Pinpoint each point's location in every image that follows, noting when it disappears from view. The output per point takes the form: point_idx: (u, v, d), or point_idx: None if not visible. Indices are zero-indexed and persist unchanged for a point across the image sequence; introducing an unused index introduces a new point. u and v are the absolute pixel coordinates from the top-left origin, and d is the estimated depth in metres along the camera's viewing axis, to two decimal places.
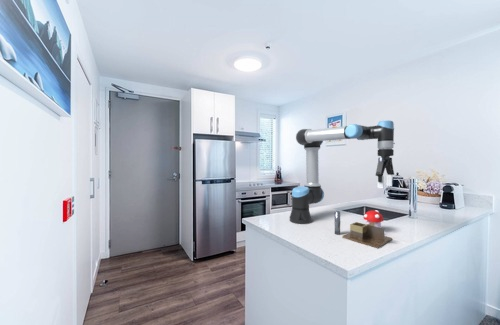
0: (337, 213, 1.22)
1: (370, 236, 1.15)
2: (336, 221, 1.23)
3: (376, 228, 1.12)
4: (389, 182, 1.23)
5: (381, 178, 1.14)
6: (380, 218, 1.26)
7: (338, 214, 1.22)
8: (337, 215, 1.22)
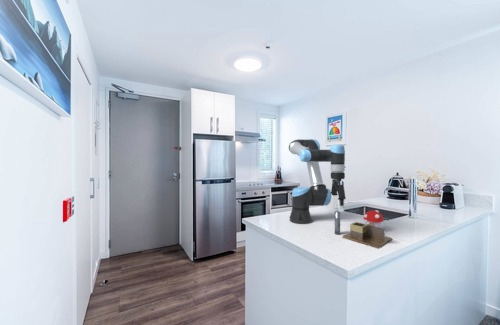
0: (337, 213, 1.22)
1: (370, 236, 1.15)
2: (336, 221, 1.23)
3: (376, 228, 1.12)
4: (335, 202, 1.30)
5: (343, 202, 1.16)
6: (380, 218, 1.26)
7: (338, 214, 1.22)
8: (337, 215, 1.22)
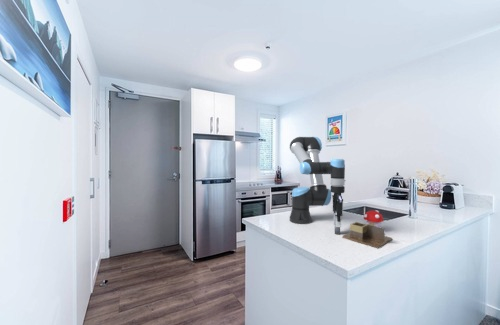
0: None
1: (370, 236, 1.15)
2: None
3: (376, 228, 1.12)
4: None
5: (340, 218, 1.21)
6: (380, 218, 1.26)
7: None
8: None
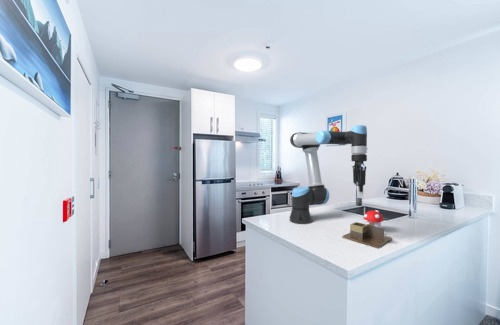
0: None
1: (370, 236, 1.15)
2: None
3: (376, 228, 1.12)
4: None
5: None
6: (380, 218, 1.26)
7: None
8: None
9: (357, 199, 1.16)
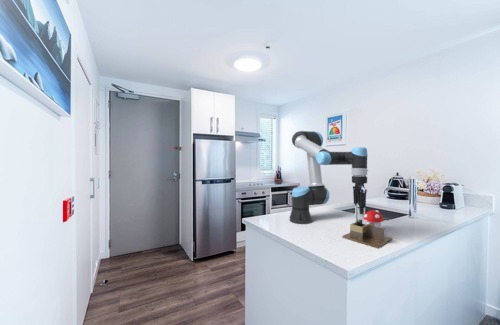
0: None
1: (370, 236, 1.15)
2: None
3: (376, 228, 1.12)
4: None
5: (362, 210, 1.14)
6: (380, 218, 1.26)
7: None
8: None
9: (357, 221, 1.16)
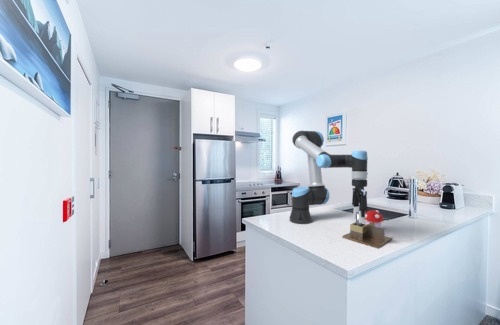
0: None
1: (370, 236, 1.15)
2: (358, 223, 1.16)
3: (376, 228, 1.12)
4: None
5: None
6: (380, 218, 1.26)
7: None
8: None
9: None
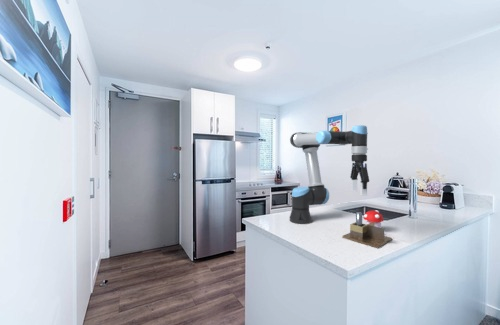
0: (359, 214, 1.16)
1: (370, 236, 1.15)
2: (358, 223, 1.16)
3: (376, 228, 1.12)
4: (355, 187, 1.23)
5: None
6: (380, 218, 1.26)
7: (360, 215, 1.15)
8: (359, 217, 1.16)
9: None
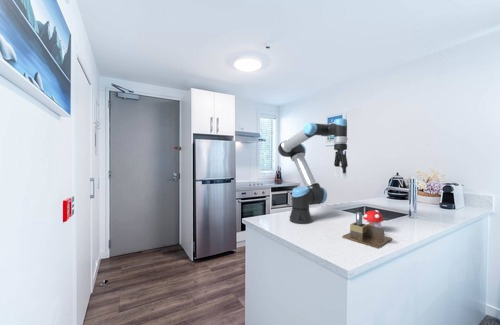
0: (359, 214, 1.16)
1: (370, 236, 1.15)
2: (358, 223, 1.16)
3: (376, 228, 1.12)
4: (337, 173, 1.41)
5: (345, 169, 1.27)
6: (380, 218, 1.26)
7: (360, 215, 1.15)
8: (359, 217, 1.16)
9: None
